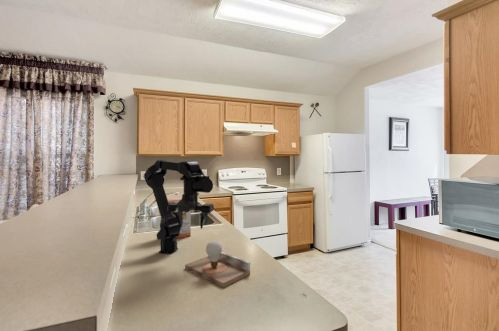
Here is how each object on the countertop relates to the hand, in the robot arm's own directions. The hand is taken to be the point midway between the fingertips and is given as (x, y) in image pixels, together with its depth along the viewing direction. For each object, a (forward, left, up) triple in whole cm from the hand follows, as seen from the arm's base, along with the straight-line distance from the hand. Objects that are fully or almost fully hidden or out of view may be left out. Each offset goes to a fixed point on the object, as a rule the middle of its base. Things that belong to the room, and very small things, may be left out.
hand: (191, 227), depth 109 cm
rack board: (+14, -10, -13) cm, 22 cm away
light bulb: (+14, -11, -12) cm, 21 cm away
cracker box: (-20, +26, -13) cm, 35 cm away
